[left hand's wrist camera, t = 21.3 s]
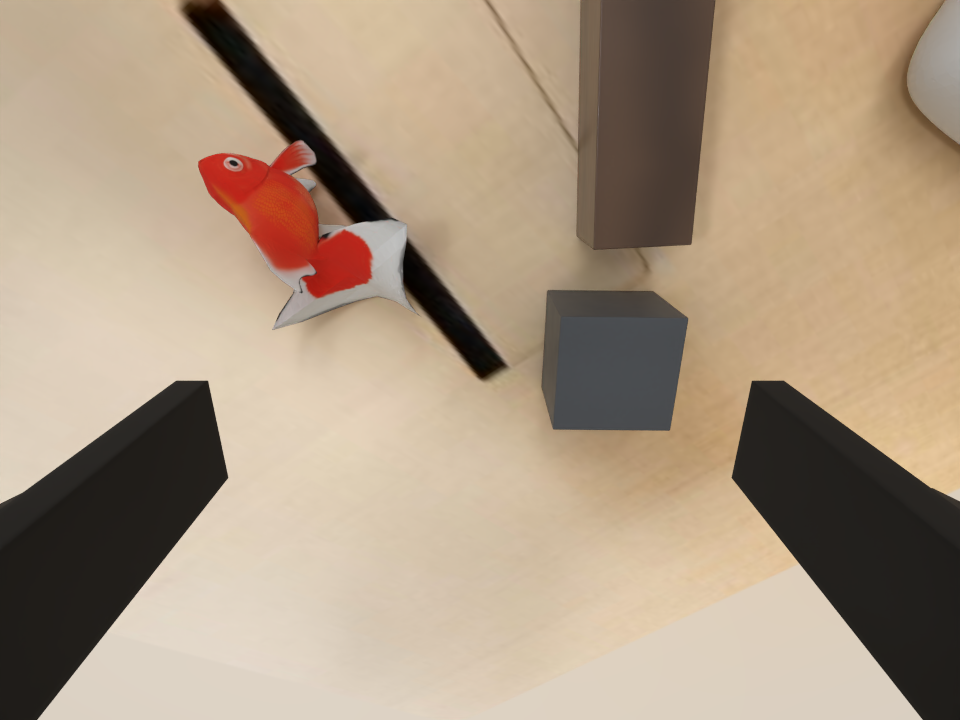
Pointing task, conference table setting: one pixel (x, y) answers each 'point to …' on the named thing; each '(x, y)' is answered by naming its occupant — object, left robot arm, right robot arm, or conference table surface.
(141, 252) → the conference table surface
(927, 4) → the conference table surface
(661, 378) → the grey block
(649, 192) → the long brown block
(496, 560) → the conference table surface
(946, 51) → the projector
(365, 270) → the fish
